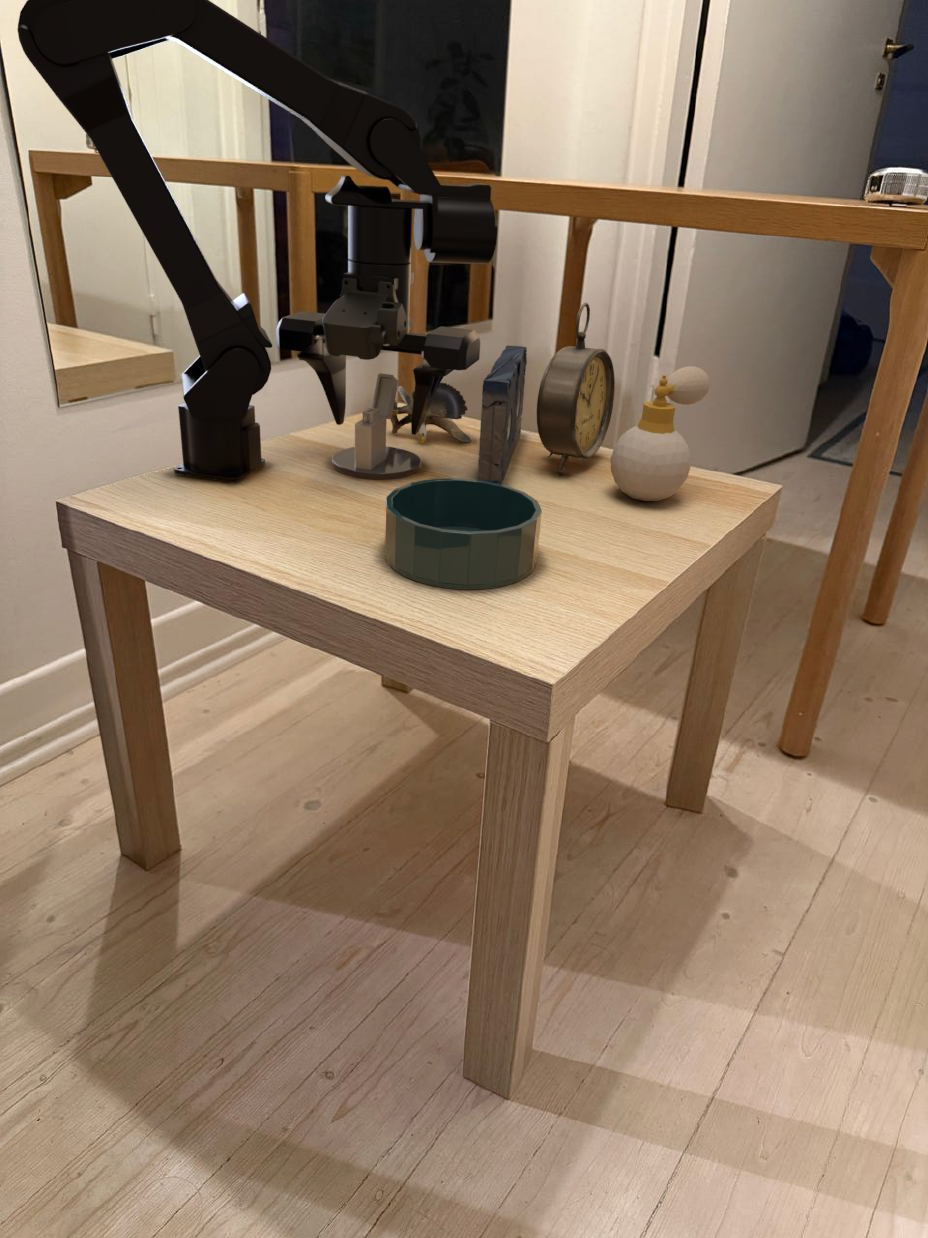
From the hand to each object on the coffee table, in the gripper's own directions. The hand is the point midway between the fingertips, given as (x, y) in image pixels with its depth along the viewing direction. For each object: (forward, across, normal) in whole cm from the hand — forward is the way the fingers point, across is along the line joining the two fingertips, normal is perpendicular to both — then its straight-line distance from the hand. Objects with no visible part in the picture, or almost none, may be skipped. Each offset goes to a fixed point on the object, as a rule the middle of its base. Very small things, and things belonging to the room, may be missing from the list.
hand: (377, 428), depth 90 cm
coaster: (+4, 0, 0) cm, 4 cm away
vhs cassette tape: (+4, +11, +8) cm, 14 cm away
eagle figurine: (+4, +2, +11) cm, 12 cm away
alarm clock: (+4, +18, +9) cm, 20 cm away
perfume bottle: (+4, +27, +3) cm, 27 cm away
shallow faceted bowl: (+4, +14, -19) cm, 24 cm away
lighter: (+3, 0, 0) cm, 3 cm away
